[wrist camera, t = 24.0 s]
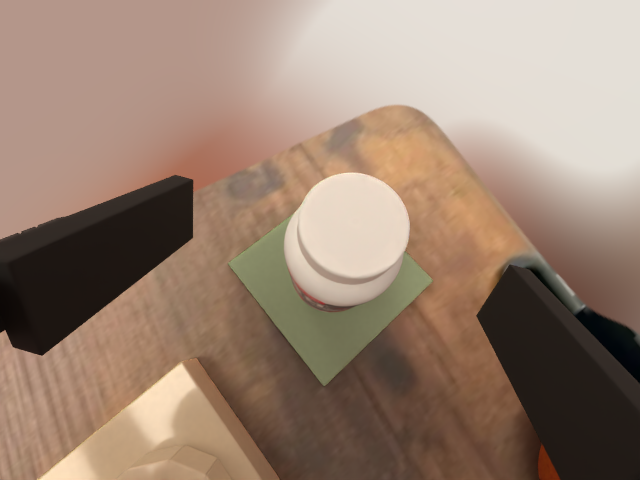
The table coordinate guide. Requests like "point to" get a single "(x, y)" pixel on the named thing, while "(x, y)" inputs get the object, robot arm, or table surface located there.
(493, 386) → the table surface
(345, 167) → the table surface
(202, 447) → the control block
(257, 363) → the table surface
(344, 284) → the pill bottle
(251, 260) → the mat
